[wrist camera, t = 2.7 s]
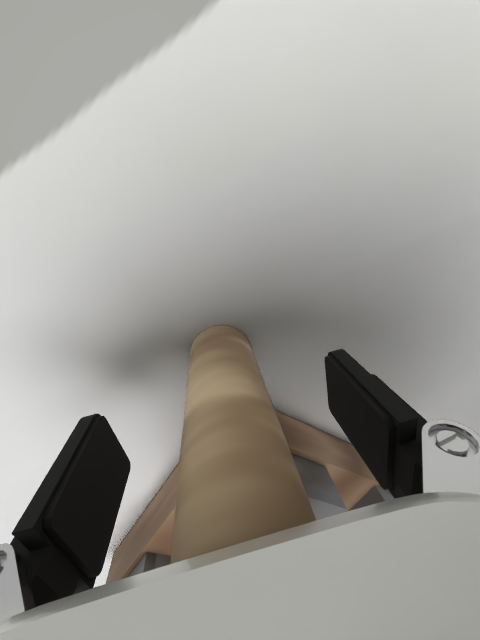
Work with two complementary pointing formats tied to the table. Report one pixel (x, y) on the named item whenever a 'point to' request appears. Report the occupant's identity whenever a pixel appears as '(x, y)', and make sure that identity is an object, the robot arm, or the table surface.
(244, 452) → the oak leg
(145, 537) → the stool
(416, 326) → the table surface
